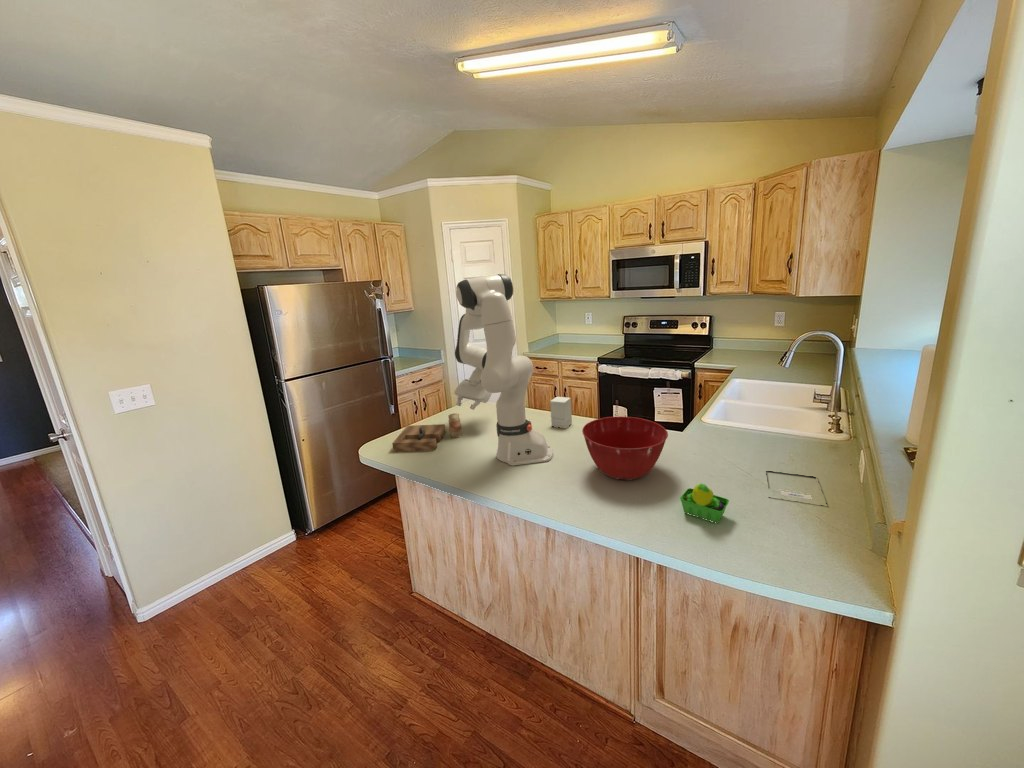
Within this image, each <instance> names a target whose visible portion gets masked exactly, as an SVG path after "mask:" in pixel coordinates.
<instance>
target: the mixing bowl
mask: <svg viewBox="0 0 1024 768" xmlns="http://www.w3.org/2000/svg"><path fill="white" fill-rule="evenodd" d="M581 430H582V435H583V438H584V441H585V444H586V447H587V450H588V453H589V454H590V456H591V459H592V461H593V463H594V464H595V465H596V467H597V469H598V470H600V472H602V473H603V474H605V475H606V476H607V477H610V478H612V477H613V478H612V479H615V478H618V479H617V480H619V479H633V480H636V479H635V478H637V479H639V478H642V477H644V476H646V475H648V473H649V472H650V471H652V470H653V468H654V466H655V465H656V464H657V462H658V460H659V459H660V457H661V456H660V455H661V454H662V452H663V449H664V446H665V444H666V441H667V439H668V437H669V433H668V431H667V429H666V428H665V427H664V426H662V425H661V424H659V423H657V422H655V421H652V420H649V419H644V418H641V417H636V416H635V417H633V416H606V417H601V418H597V419H594V420H590V421H589V422H587V423H586V424H585V425H584V426H583V427H582V429H581Z"/></svg>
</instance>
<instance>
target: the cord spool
mask: <svg viewBox="0 0 1024 768" xmlns="http://www.w3.org/2000/svg"><path fill="white" fill-rule="evenodd" d="M447 420H448V426H449V427H448V428H449V432H450V438H451V437H452V439H457V438H458V437H459V438H461V437H462V436H461V435H462V425H461V424H462V423H461V418H460V413H457V412H456V413H450V414H448V419H447ZM460 436H461V437H460Z"/></svg>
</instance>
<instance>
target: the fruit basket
mask: <svg viewBox="0 0 1024 768" xmlns="http://www.w3.org/2000/svg"><path fill="white" fill-rule="evenodd" d="M679 500H680V502H681V505H682V508H683V513H684V512H685V513H689V514H692V515H695V516H698V517H701V518H704V519H707V520H711V521H713V522H716V523H717V522H718V523H719V522H720V520H721V519H720V518H722V517H723V516H724V513H725V511H726V508H727V506H728V504H729V502H730V500H729V499H728V498H725V497H722V496H718V495H715V494H714V492H713V490H712V489H711V488H710V487H708V486H707V485H706V484H705V483H699V484H696V485H695V486H694V488H691V487H690V488H687V489H686V490H685V492H684V493H683V494H682V495H681V496H680V497H679ZM685 513H684V514H685ZM692 515H691V516H692ZM722 515H723V516H722ZM701 518H700V519H701ZM718 523H717V524H718Z"/></svg>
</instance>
